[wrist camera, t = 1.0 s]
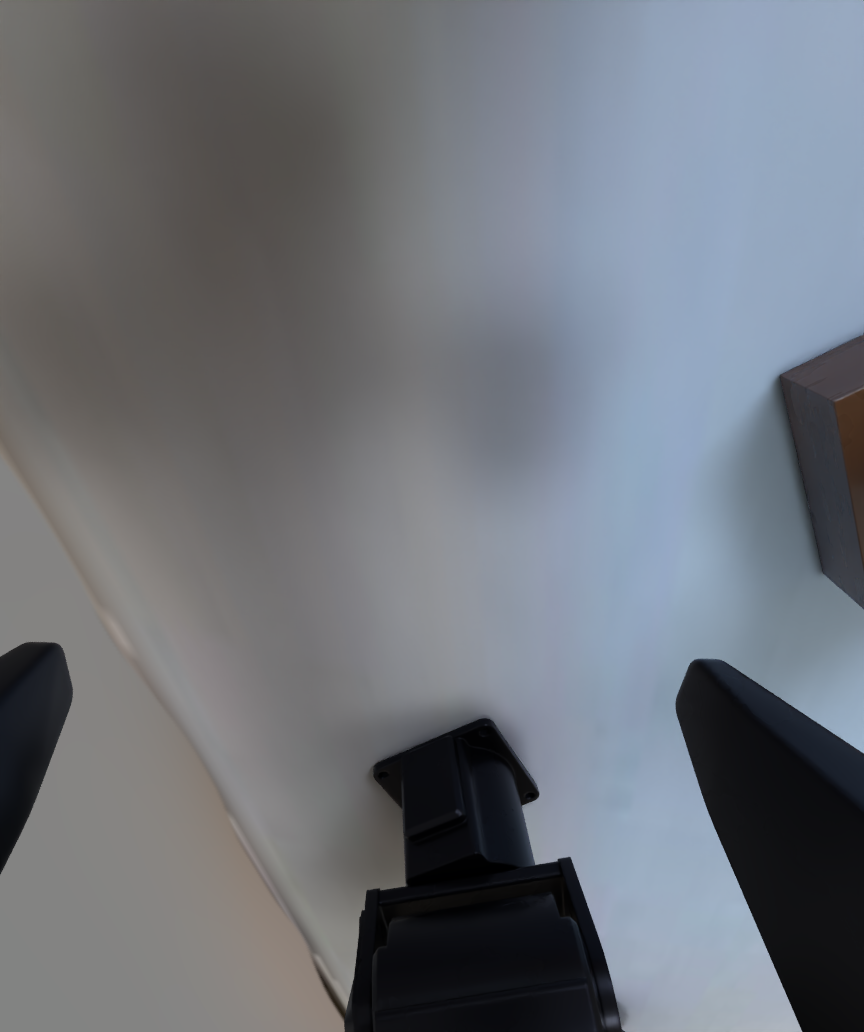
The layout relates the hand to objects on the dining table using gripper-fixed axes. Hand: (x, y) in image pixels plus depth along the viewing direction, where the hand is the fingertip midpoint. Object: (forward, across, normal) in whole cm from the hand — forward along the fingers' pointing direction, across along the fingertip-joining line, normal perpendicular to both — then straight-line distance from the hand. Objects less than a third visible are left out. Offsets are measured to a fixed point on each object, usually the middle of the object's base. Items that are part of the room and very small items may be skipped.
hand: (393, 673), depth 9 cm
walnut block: (+14, -18, +2) cm, 23 cm away
